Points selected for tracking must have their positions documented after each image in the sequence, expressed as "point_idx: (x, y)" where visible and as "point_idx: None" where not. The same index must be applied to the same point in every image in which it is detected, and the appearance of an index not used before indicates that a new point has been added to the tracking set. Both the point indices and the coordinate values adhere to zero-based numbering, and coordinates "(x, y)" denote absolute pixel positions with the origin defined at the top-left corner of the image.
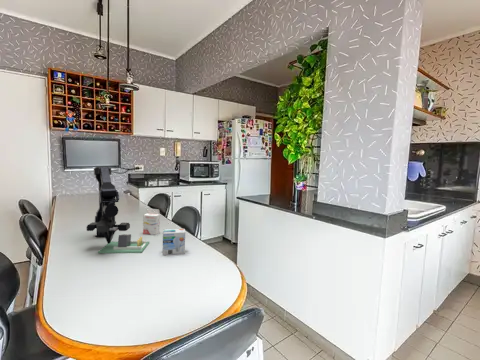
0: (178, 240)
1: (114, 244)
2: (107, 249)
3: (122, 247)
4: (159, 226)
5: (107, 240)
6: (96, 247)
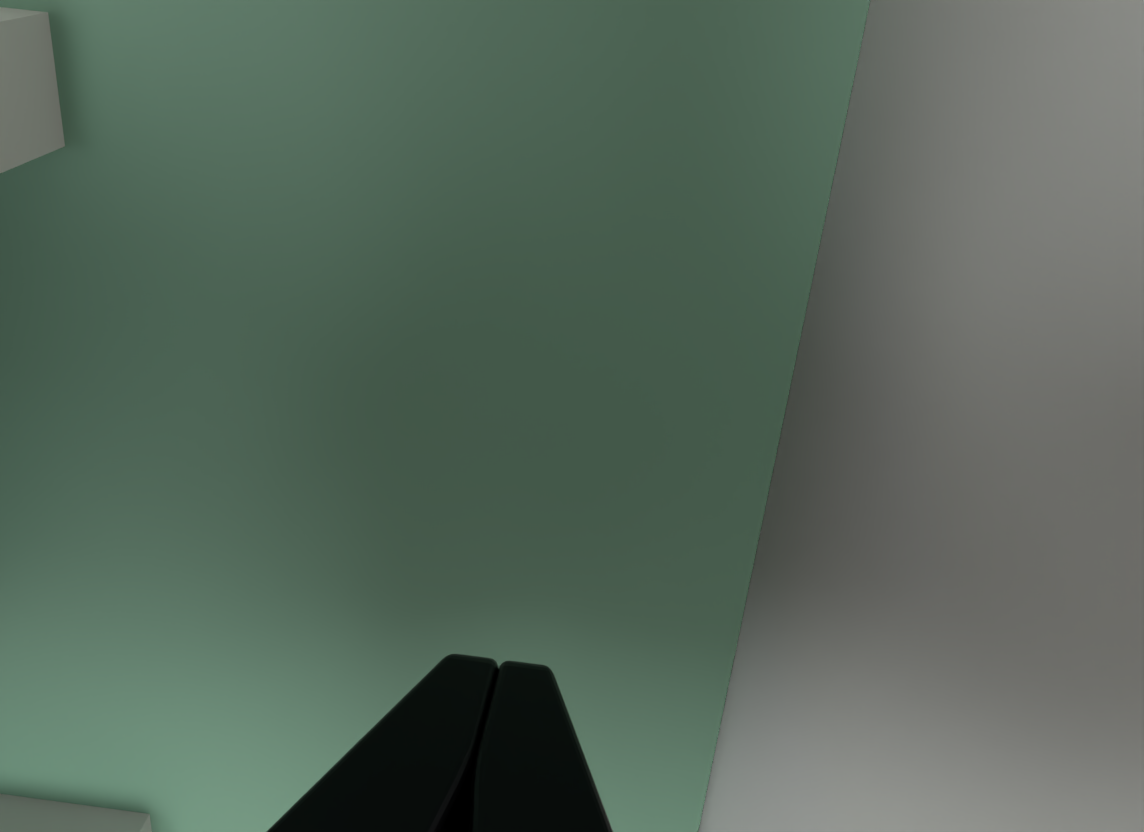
0: None
1: None
2: (428, 96)
3: None
4: None
5: (525, 798)
6: (1141, 669)
